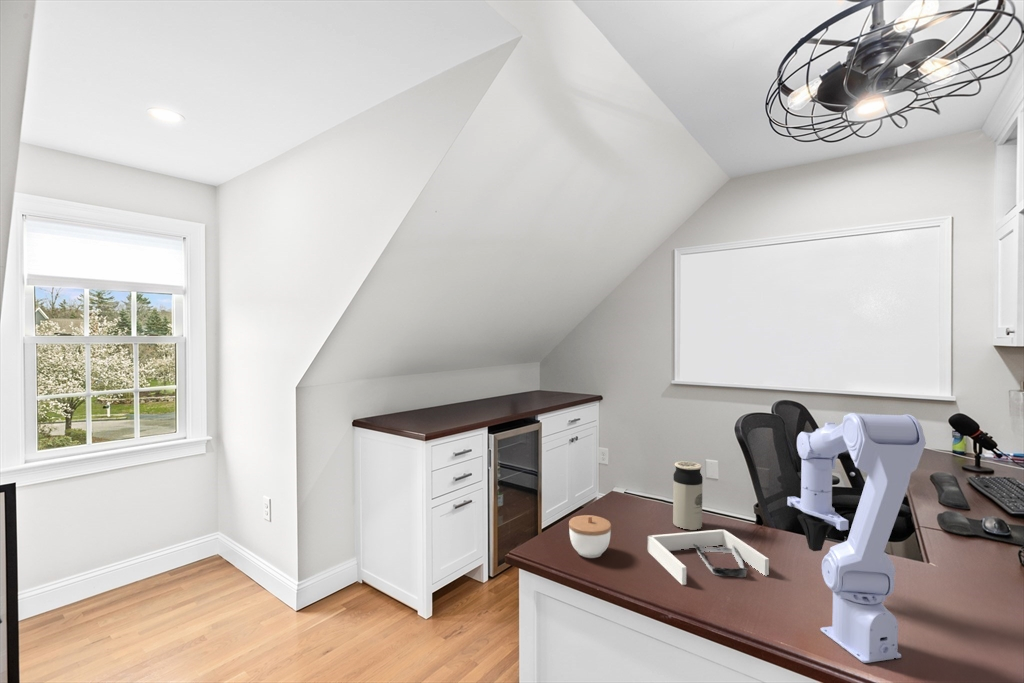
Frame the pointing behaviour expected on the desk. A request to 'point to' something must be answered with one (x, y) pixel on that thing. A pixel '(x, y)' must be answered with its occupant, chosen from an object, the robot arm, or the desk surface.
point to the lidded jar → (589, 535)
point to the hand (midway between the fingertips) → (815, 549)
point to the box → (678, 541)
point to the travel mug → (687, 495)
